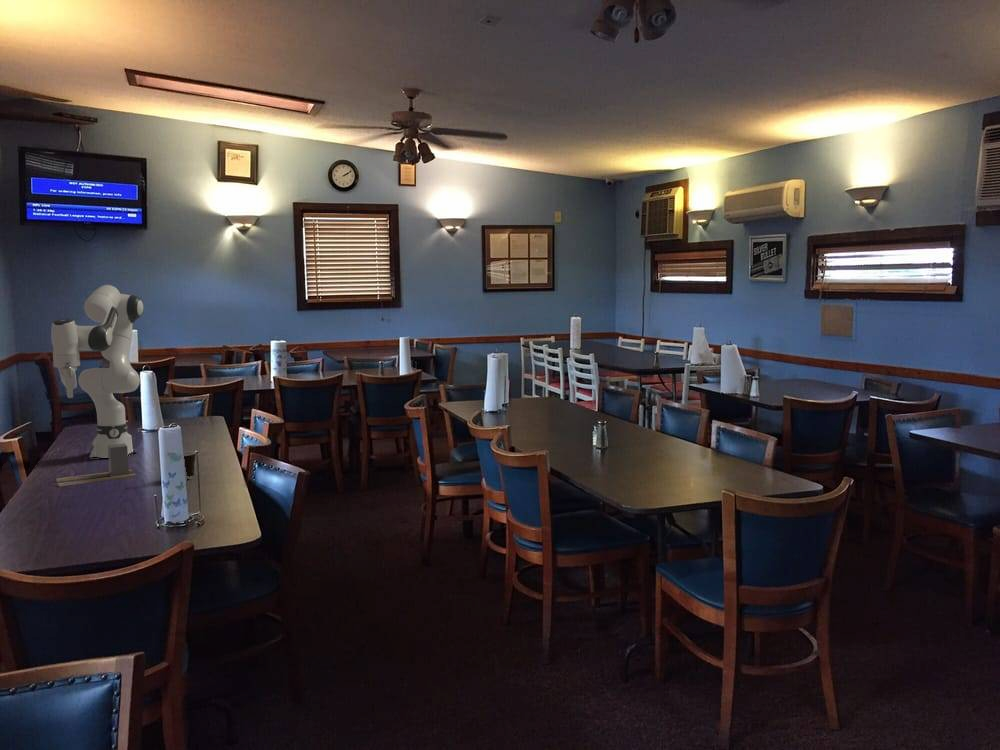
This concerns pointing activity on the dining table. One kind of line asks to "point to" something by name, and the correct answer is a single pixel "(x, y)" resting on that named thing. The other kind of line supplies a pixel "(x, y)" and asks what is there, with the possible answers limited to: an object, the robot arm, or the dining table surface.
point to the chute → (92, 479)
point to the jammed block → (118, 459)
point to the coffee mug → (189, 462)
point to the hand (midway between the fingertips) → (70, 397)
